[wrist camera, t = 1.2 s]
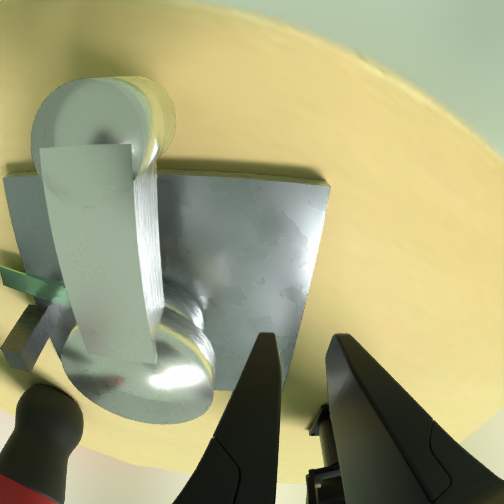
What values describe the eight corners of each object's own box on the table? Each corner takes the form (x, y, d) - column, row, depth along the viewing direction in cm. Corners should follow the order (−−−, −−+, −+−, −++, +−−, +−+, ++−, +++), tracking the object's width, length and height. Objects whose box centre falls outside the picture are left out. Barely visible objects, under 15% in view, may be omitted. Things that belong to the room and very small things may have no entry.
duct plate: (280, 383, 26) (286, 442, 21) (43, 354, 25) (21, 401, 20) (326, 181, 17) (360, 230, 12) (-16, 175, 16) (-71, 211, 10)
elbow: (216, 380, 22) (213, 436, 18) (102, 366, 21) (84, 416, 17) (231, 75, 12) (224, 72, 8) (49, 86, 11) (-15, 99, 7)
